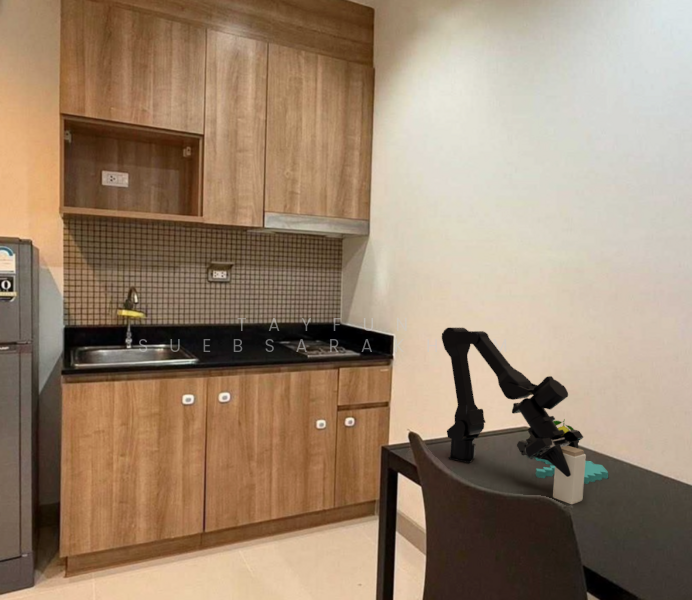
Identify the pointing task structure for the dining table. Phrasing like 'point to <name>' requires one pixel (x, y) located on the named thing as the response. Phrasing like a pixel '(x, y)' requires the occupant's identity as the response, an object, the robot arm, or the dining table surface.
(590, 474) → the alien figure
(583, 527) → the dining table surface
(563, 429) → the lemon
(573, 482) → the canister
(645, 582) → the dining table surface
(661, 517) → the dining table surface
